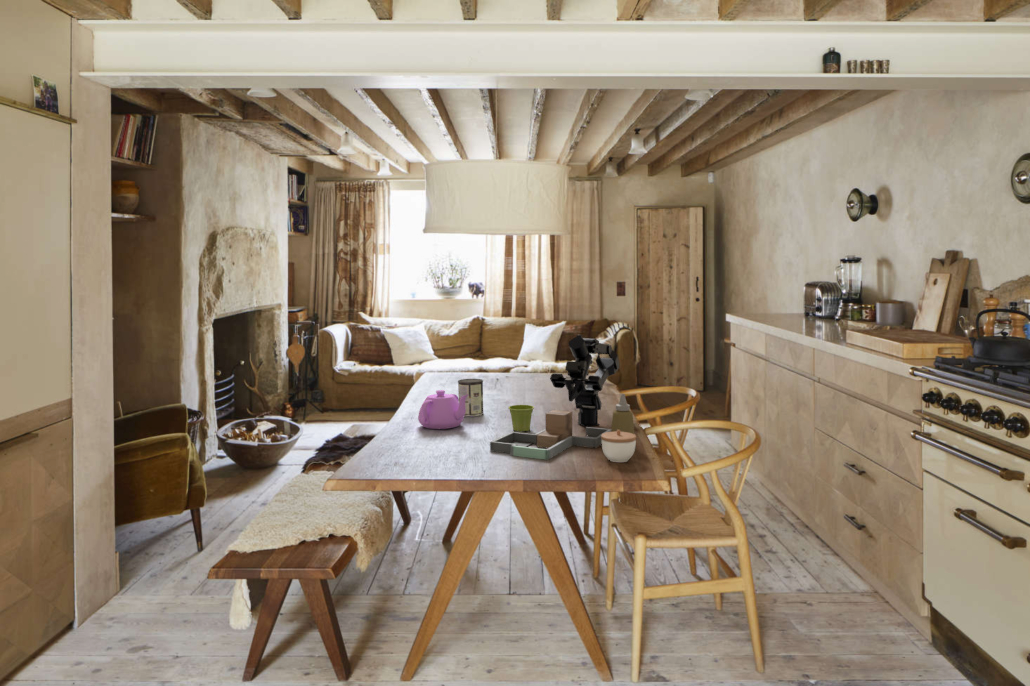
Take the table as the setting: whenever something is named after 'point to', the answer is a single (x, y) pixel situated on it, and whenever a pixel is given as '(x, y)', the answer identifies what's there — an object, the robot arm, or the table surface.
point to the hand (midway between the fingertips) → (570, 400)
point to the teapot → (442, 411)
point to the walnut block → (555, 428)
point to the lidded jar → (618, 445)
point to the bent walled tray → (520, 441)
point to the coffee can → (472, 395)
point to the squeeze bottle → (622, 417)
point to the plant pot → (521, 417)
